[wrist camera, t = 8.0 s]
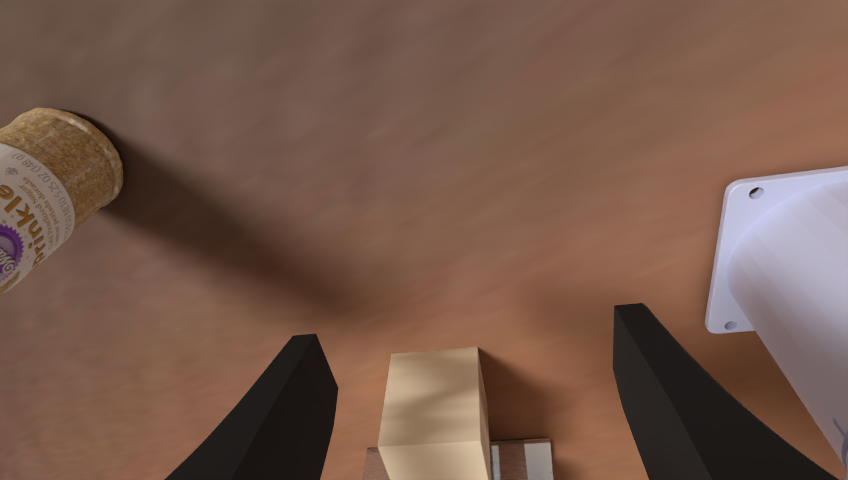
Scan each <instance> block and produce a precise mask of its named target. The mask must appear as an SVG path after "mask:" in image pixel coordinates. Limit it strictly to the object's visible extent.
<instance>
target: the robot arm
mask: <svg viewBox="0 0 848 480" xmlns="http://www.w3.org/2000/svg"><path fill="white" fill-rule="evenodd" d="M757 187H759V189H758V191H756V192H755V193H753V194H749V193H750V191H751V190H752V189H754V188H757ZM731 321H732V322H731ZM728 322H730V323H728ZM726 323H728V324H726ZM705 326H706V328H707V330H708V331H709V332H711V333H713V334H720V333H732V332H744V331H756V333H757V334H758V336H759V337H760V339H761V340H762V342H763V343H764V345H765V346H766V348H767V349H768V351H769V352H770V354H771V356H772V357H773V359H774V360H775V362H776V363H777V365H778V366H779V368H780V369H781V371H782V372H783V374H784V375H785V377H786V378H787V380H788V381H789V383H790V384H791V386H792V387H793V389H794V391H795V392H796V394H797V395H798V397H799V398H800V400H801V401H802V403H803V404H804V406H805V407H806V409H807V410H808V412H809V413H810V415H811V416H812V418H813V419H814V421H815V423H816V424H817V426H818V427H819V429H820V430H821V432H822V433H823V435H824V436H825V438H826V439H827V441H828V442H829V444H830V445H831V447H832V448H833V450H834V451H835V453H836V454H837V456H838V458H839V459H840V461H841V462H842V464H843V465H844V467H845V468H846V470H847V474H846V477H845V478H844V480H848V166H844V167H836V168H828V169H820V170H812V171H804V172H796V173H788V174H780V175H772V176H764V177H756V178H748V179H740V180H737V181H734V182H732V183H731V184H730V185H729V186H728V187H727V188H726V191H725V195H724V201H723V207H722V214H721V220H720V227H719V233H718V240H717V246H716V253H715V259H714V266H713V272H712V279H711V285H710V291H709V298H708V304H707V311H706V317H705ZM613 370H614V374H615V378H616V382H617V387H618V391H619V395H620V399H621V403H622V406H623V410H624V413H625V415H626V418H627V421H628V424H629V426H630V429H631V432H632V434H633V437H634V440H635V443H636V445H637V448H638V451H639V453H640V456H641V459H642V461H643V464H644V467H645V469H646V472H647V475H648V477H649V480H839V479H837V478H836V477H834V476H833V475H831V474H830V473H828V472H827V471H825V470H824V469H822V468H821V467H820V466H818V465H817V464H815V463H814V462H813V461H811V460H810V459H809V458H807V457H806V456H805V455H803V454H802V453H801V452H799V451H798V450H797V449H795V448H794V447H793V446H791V445H790V444H789V443H787V442H786V441H785V440H784V439H782V438H781V437H780V436H779V435H777V434H776V433H775V432H774V431H772V430H771V429H770V428H769V427H767V426H766V425H765V424H764V423H762V422H761V421H760V420H759V419H758V418H757V417H755V416H754V415H753V414H752V413H751V412H750V411H748V410H747V409H746V408H745V407H744V406H743V405H742V404H740V403H739V402H738V401H737V400H736V399H735V398H734V397H733V396H732V395H730V394H729V393H728V392H727V391H726V390H725V389H724V388H723V387H722V386H721V385H720V384H719V383H718V382H716V381H715V380H714V379H713V378H712V377H711V376H710V375H709V374H708V373H707V372H706V371H705V370H704V369H703V368H702V367H701V366H700V365H699V364H698V363H697V362H696V361H695V360H694V359H693V358H692V357H691V356H690V355H689V354H688V353H687V351H686V350H685V349H684V348H683V347H682V346H681V345H680V344H679V343H678V342H677V341H676V340H675V339H674V337H673V336H672V335H671V334H670V333H669V332H668V331H667V330H666V329H665V327H664V326H663V325H662V324H661V323H660V322H659V321H658V319H657V318H656V317H655V316H654V315H653V313H652V312H651V311H650V310H649V309H648V307H647V306H645V305H644V304H643V303H639V304H628V305H617V306H614V341H613ZM337 394H338V386H337V384H336V382H335V379H334V377H333V374H332V372H331V369H330V367H329V364H328V362H327V360H326V357H325V355H324V352H323V350H322V347H321V345H320V342H319V340H318V338H317V335H316V334H307V335H296V336H292V338H291V339H290V340H289V341H288V342H287V344H286V345H285V346H284V347H283V349H282V350H281V351H280V352H279V354H278V355H277V356H276V357H275V359H274V360H273V361H272V362H271V364H270V365H269V366H268V367H267V369H266V370H265V371H264V372H263V374H262V375H261V376H260V377H259V379H258V380H257V381H256V382H255V384H254V385H253V386H252V387H251V388H250V390H249V391H248V392H247V393H246V394H245V396H244V397H243V398H242V399H241V400H240V402H239V403H238V404H237V405H236V406H235V407H234V409H233V410H232V411H231V412H230V413H229V414H228V415H227V416H226V418H225V419H224V420H223V421H222V422H221V423H220V424H219V425H218V426H217V428H216V429H215V430H214V431H213V432H212V433H211V434H210V435H209V436H208V438H207V439H206V440H205V441H204V442H203V443H202V444H201V445H200V446H199V447H198V448H197V449H196V450H195V451H194V452H193V453H192V454H191V455H190V456H189V457H188V458H187V459H186V460H185V461H184V462H183V463H182V464H180V465H179V466H178V467H177V468H176V469H175V470H174V471H173V472H172V473H171V474H170V475H169V476H168V477H167V478H166V479H165V480H320V477H321V474H322V470H323V466H324V462H325V458H326V454H327V450H328V446H329V443H330V439H331V435H332V430H333V426H334V419H335V412H336V403H337Z"/></svg>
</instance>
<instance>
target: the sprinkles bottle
mask: <svg viewBox="0 0 848 480" xmlns="http://www.w3.org/2000/svg"><path fill="white" fill-rule="evenodd" d="M122 185H123V169H122V162H121V160H120V158H119V154H118V152H117V151H116V149H115V148H114V146H113V144H112V143H111V142H110V140H109V139H108V138H107V137H106V136H105V135H104V134H103V133H102V132H101V131H100V130H98V129H97V128H96V127H95V126H94V125H93V124H91V123H90V122H88V121H87V120H85V119H82V118H80V117H78V116H77V115H75V114H72V113H70V112H66V111H63V110H57V109H53V108H35V109H33V110H31V111H27V112H25V113H23V114H21V115H20V116H18V117H17V118H16V119H15V120H14V121H13V122H12V123H11V124H9V125H8V126H5V127H3V128H1V129H0V295H1V294H3V293H5V292H6V291H8V290H10V289H11V288H12V287H13V286H15V285H16V284H17V283H18V282H19V281H21V280H22V279H23V278H24V277H25V276H26V275H27V274H28V273H30V272H31V271H32V270H33V269H34V268H35V267H37V266H38V265H39V264H40V263H41V262H42V261H43V260H45V259H46V258H47V257H48V256H49V255H50V254H51V253H53V252H54V251H55V250H56V249H57V248H58V247H59V246H60V245H61V244H63V243H64V242H65V241H66V240H67V239H68V238H69V236H70V235H71V233H72V232H73V231H74V230H75V229H76V228H77V227H79V226H80V225H81V224H82V223H83V222H84V221H86V220H87V219H88V218H89V217H90V216H92V215H93V214H94V213H95V212H96V211H97V210H98V209H99V208H100V207H104V206H106V205H108V204H109V203H110V202H111V201H112V200H114V199H115V198H116V197H117V196H118V194H119V192H120V190H121V188H122Z"/></svg>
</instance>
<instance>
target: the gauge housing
mask: <svg viewBox="0 0 848 480" xmlns="http://www.w3.org/2000/svg"><path fill="white" fill-rule="evenodd" d="M491 445H492V450H493V469H494V480H553V470H552V457H551V445H550V438H541V439H524V440H506V441H491ZM362 480H390V478H389V476H388V473H387V470H386V468H385V465H384V462H383V460H382V457H381V454H380V452H379V449H378V448H367V454H366V460H365V466H364V471H363V477H362Z"/></svg>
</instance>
